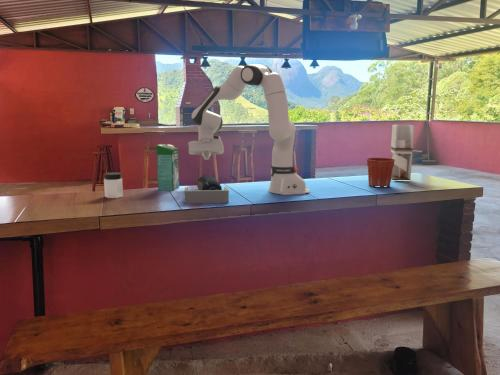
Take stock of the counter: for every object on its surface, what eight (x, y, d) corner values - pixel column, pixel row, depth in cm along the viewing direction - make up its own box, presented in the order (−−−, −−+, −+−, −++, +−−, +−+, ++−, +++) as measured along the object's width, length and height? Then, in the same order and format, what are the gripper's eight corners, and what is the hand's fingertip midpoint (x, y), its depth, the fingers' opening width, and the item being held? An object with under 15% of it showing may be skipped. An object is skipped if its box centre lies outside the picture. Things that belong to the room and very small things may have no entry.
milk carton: (173, 190, 234) (172, 145, 229) (157, 190, 236) (156, 144, 231) (179, 187, 243) (178, 143, 238) (164, 187, 244) (162, 143, 240)
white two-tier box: (388, 178, 279) (392, 124, 272) (405, 179, 278) (409, 125, 271) (392, 181, 268) (396, 125, 261) (410, 182, 267) (414, 125, 260)
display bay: (227, 198, 215) (227, 186, 214) (228, 202, 206) (228, 190, 205) (185, 199, 213) (185, 187, 212) (184, 203, 204) (184, 191, 203)
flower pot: (359, 185, 254) (360, 158, 251) (374, 182, 265) (376, 156, 262) (383, 189, 242) (385, 161, 239) (399, 186, 252) (401, 159, 249)
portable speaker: (196, 192, 231) (195, 174, 229) (214, 191, 233) (214, 173, 232) (203, 202, 207) (203, 182, 205) (223, 201, 210) (223, 181, 208)
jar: (113, 194, 223) (112, 171, 221) (126, 195, 220) (125, 172, 218) (101, 197, 215) (100, 174, 213) (114, 199, 212) (113, 175, 210)
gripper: (187, 137, 247) (187, 155, 239) (223, 136, 249) (224, 155, 241) (188, 144, 252) (188, 162, 244) (222, 143, 254) (224, 162, 247)
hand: (206, 158), depth 243 cm, fingers closed
